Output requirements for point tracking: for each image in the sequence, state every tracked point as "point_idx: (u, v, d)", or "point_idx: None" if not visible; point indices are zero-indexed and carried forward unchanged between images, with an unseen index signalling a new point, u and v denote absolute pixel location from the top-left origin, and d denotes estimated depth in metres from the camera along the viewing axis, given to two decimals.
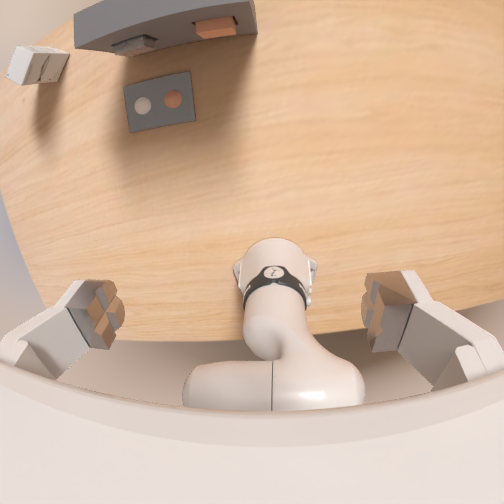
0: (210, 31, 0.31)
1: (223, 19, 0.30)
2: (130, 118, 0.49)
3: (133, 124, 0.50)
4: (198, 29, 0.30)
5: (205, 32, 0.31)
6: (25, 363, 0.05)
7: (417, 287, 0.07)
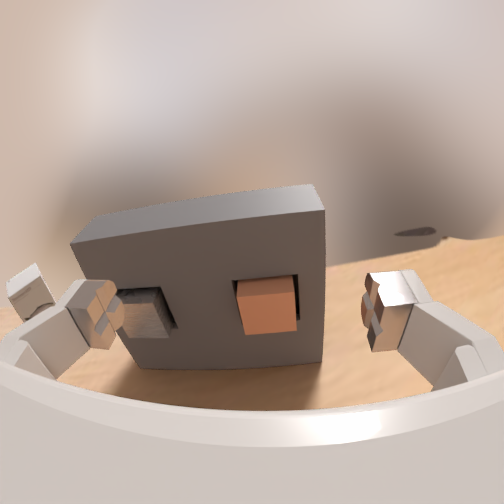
0: (259, 299, 0.25)
1: (281, 282, 0.26)
2: None
3: None
4: (240, 292, 0.25)
5: (250, 301, 0.25)
6: (24, 363, 0.05)
7: (417, 287, 0.07)
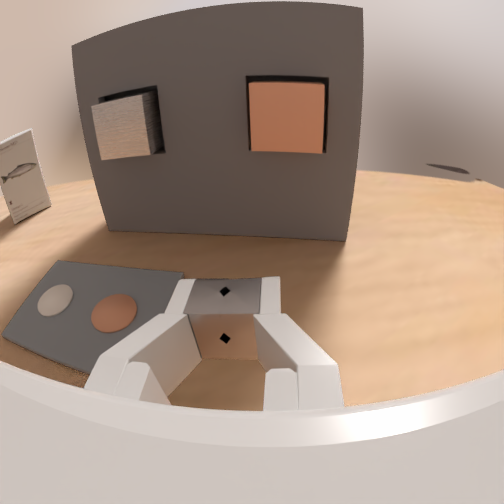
0: (277, 90, 0.17)
1: (307, 82, 0.18)
2: (21, 311, 0.18)
3: (16, 324, 0.17)
4: (255, 82, 0.17)
5: (266, 91, 0.17)
6: (148, 392, 0.05)
7: (270, 296, 0.07)
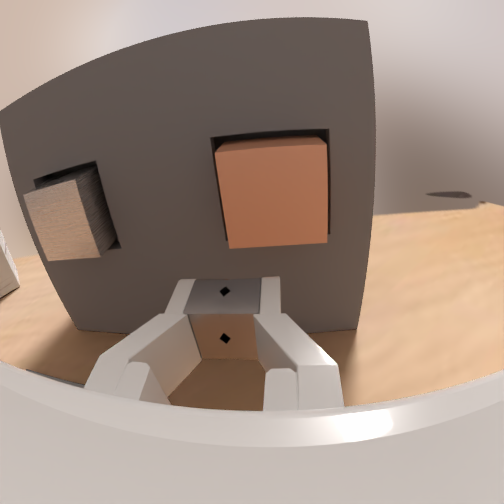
0: (258, 159, 0.12)
1: (300, 140, 0.13)
2: None
3: None
4: (224, 149, 0.13)
5: (242, 162, 0.13)
6: (148, 392, 0.05)
7: (270, 296, 0.07)
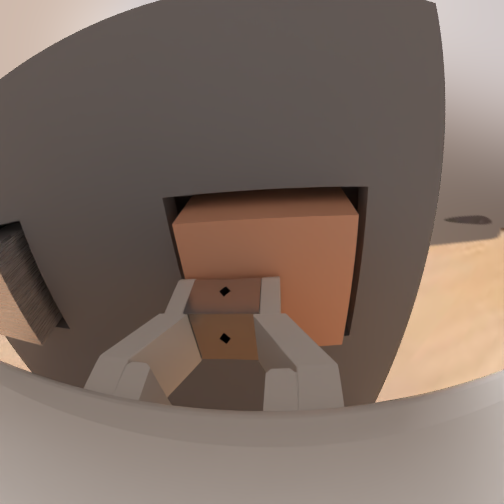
0: (243, 237, 0.08)
1: (313, 196, 0.09)
2: None
3: None
4: (189, 215, 0.08)
5: (216, 241, 0.08)
6: (148, 393, 0.05)
7: (270, 296, 0.07)
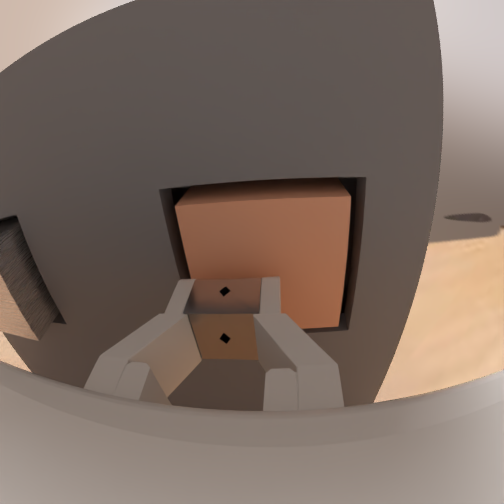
0: (242, 217, 0.08)
1: (308, 181, 0.09)
2: None
3: None
4: (191, 198, 0.09)
5: (217, 222, 0.08)
6: (148, 393, 0.05)
7: (270, 296, 0.07)
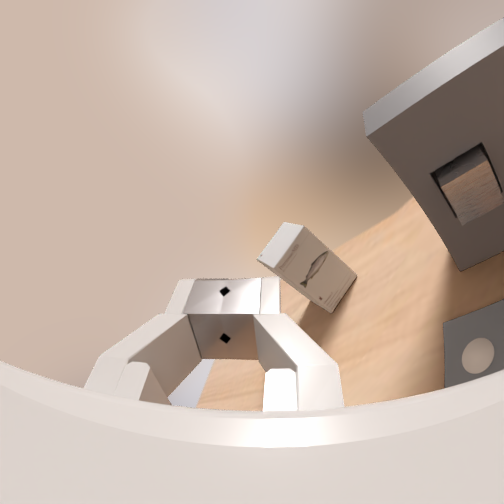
0: None
1: None
2: (450, 383, 0.20)
3: None
4: None
5: None
6: (148, 392, 0.05)
7: (270, 296, 0.07)
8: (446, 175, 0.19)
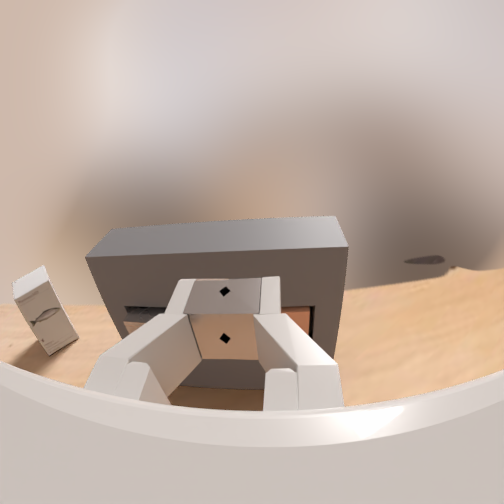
0: None
1: None
2: None
3: None
4: None
5: None
6: (148, 392, 0.05)
7: (270, 296, 0.07)
8: (134, 315, 0.27)
